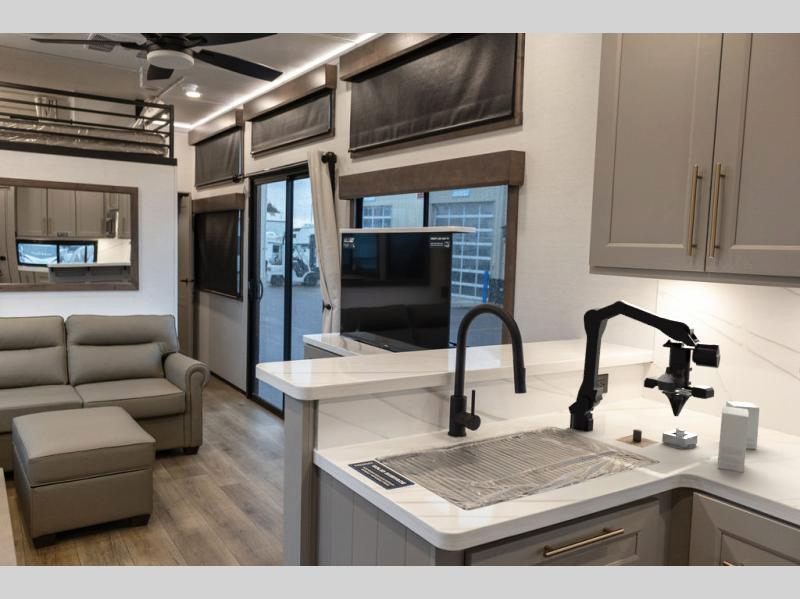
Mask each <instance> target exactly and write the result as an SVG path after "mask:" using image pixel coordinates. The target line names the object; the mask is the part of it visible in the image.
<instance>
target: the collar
mask: <svg viewBox="0 0 800 599" xmlns="http://www.w3.org/2000/svg"><path fill="white" fill-rule="evenodd" d="M661 441H662V443H663V442H666V443H669V444H673V445H677V446H680V447H684V448H685V447H688V446H691V445H694V444H696V445H697V444H698V434H695V433H691V432H687V431H685V435H684V436H683V437H682V436H678V435H676V429H672V430H668V431H665V432H663V433H662V440H661Z"/></svg>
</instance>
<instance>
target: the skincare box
mask: <svg viewBox="0 0 800 599" xmlns="http://www.w3.org/2000/svg"><path fill="white" fill-rule="evenodd" d="M748 424H749V412H748V409H742V408H733V407H726V405H723V406H722V411H721V421H720V432H719V433H720V434H719V444H718V455H717V458H718V460H717V468H718V469H722V470H726V471H732V472H740V473H744V472H745V464H746V463H745V462H746V452H747V448H746V446H747V435H748Z"/></svg>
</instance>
